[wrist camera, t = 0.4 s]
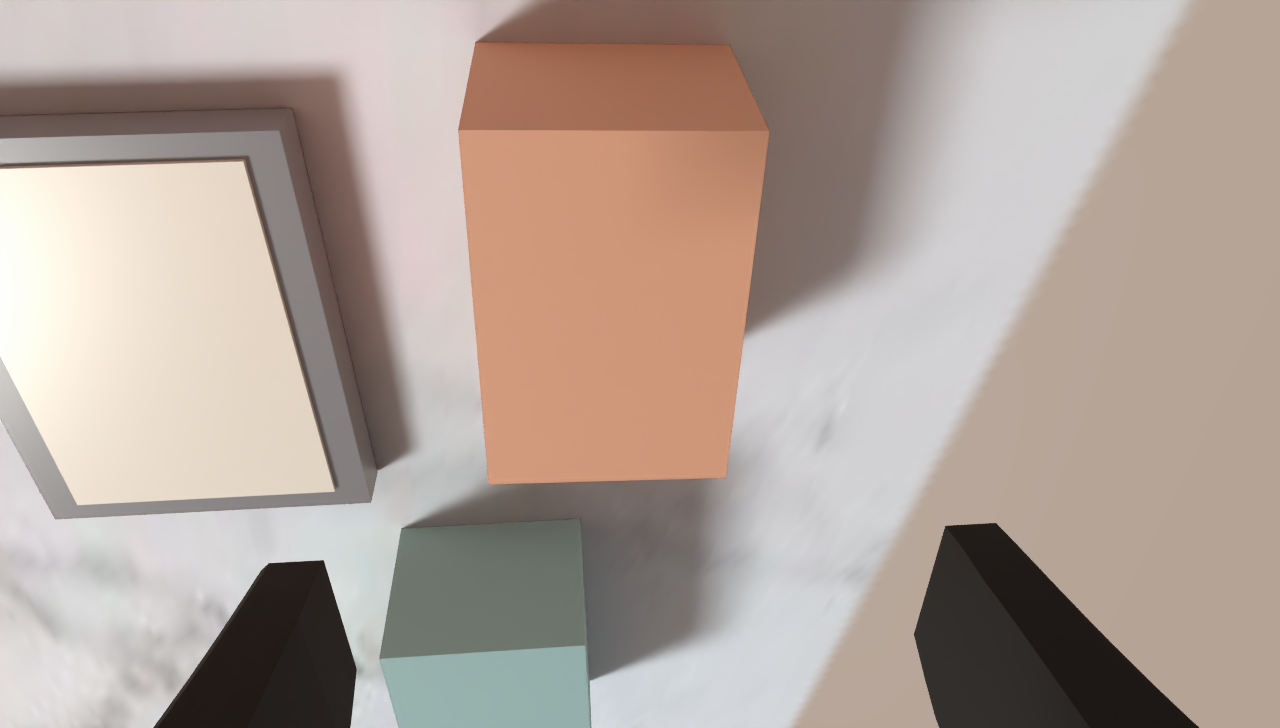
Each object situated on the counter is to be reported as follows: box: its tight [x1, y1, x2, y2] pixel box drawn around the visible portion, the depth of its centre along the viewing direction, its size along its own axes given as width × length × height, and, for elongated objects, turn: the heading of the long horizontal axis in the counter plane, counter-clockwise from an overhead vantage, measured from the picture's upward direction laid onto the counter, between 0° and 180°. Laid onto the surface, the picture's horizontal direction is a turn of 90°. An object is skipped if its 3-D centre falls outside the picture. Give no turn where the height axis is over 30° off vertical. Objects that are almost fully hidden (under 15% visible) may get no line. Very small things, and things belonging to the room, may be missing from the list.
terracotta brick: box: [458, 42, 770, 484], centre depth 17 cm, size 7×4×4 cm, turn 178°
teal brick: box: [379, 519, 591, 728], centre depth 24 cm, size 7×4×4 cm, turn 0°
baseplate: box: [0, 108, 377, 519], centre depth 19 cm, size 9×7×1 cm
